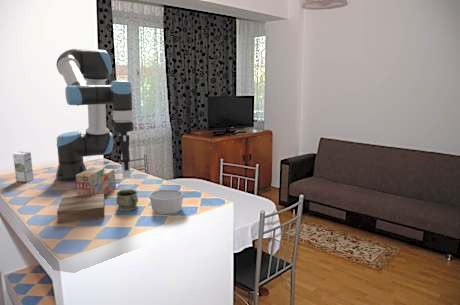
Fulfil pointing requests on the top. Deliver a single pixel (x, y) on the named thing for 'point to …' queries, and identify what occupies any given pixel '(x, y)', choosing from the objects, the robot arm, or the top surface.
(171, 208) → the ramekin
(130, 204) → the vessel
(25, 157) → the syrup box
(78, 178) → the stack of blocks
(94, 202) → the walnut block
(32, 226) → the top surface
